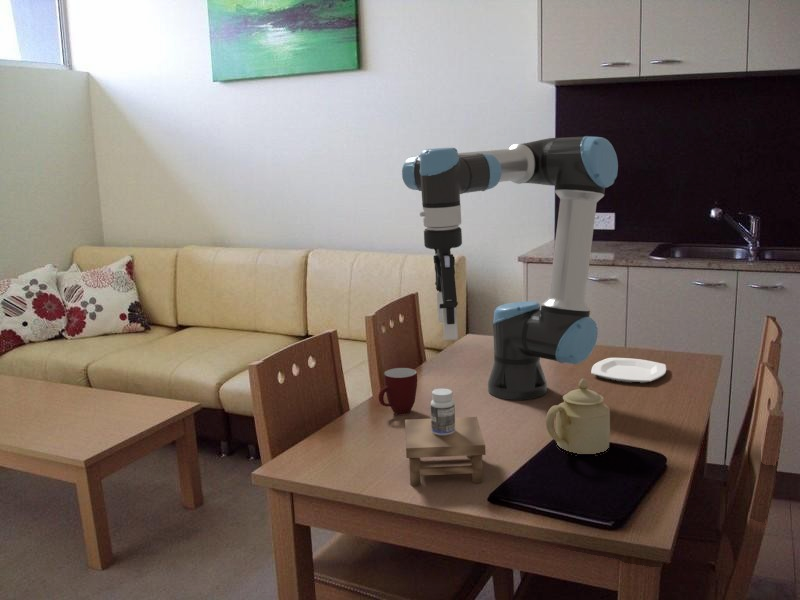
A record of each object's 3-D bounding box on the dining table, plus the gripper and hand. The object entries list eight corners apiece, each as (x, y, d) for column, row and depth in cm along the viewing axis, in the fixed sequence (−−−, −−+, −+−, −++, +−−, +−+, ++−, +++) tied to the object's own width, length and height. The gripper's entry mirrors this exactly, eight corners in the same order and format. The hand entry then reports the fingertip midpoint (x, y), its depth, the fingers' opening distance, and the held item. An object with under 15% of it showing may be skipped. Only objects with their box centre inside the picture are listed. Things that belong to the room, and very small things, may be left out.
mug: (394, 423, 179) (393, 382, 177) (371, 415, 185) (369, 376, 183) (425, 410, 186) (423, 371, 184) (401, 403, 192) (400, 365, 190)
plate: (673, 369, 211) (673, 363, 211) (655, 390, 195) (655, 383, 195) (604, 361, 221) (604, 355, 221) (582, 380, 205) (582, 373, 205)
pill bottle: (430, 428, 154) (428, 388, 152) (453, 426, 154) (452, 386, 152) (433, 437, 149) (431, 396, 147) (456, 435, 150) (455, 394, 148)
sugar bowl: (598, 467, 151) (599, 395, 148) (543, 458, 156) (543, 389, 153) (614, 440, 164) (615, 373, 161) (564, 433, 169) (564, 368, 166)
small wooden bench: (477, 452, 161) (476, 416, 159) (486, 484, 146) (485, 444, 144) (406, 455, 161) (404, 419, 159) (407, 487, 146) (406, 448, 144)
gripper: (419, 220, 164) (425, 316, 169) (428, 237, 140) (434, 348, 145) (454, 218, 164) (459, 313, 169) (468, 234, 140) (473, 345, 145)
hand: (447, 330), depth 157 cm, fingers open, 13 cm apart
